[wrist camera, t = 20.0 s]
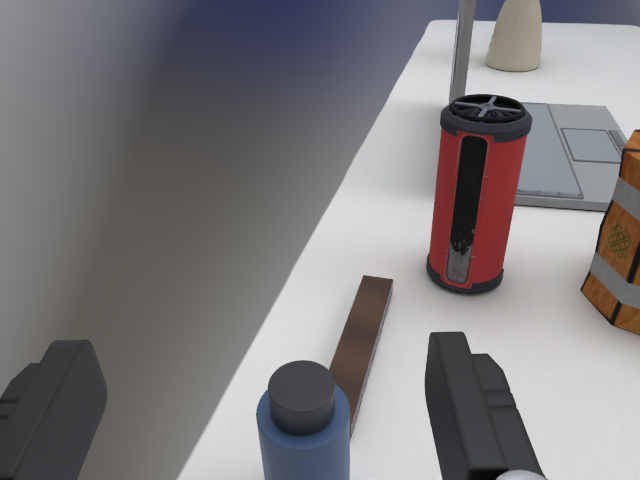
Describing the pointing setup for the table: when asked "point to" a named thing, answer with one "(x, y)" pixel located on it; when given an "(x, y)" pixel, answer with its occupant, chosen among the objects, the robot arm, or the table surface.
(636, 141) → the mug
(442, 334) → the robot arm
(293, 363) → the water bottle
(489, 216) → the speaker
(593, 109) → the laptop
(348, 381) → the walnut strip
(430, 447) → the table surface
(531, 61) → the lamp
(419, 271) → the table surface
